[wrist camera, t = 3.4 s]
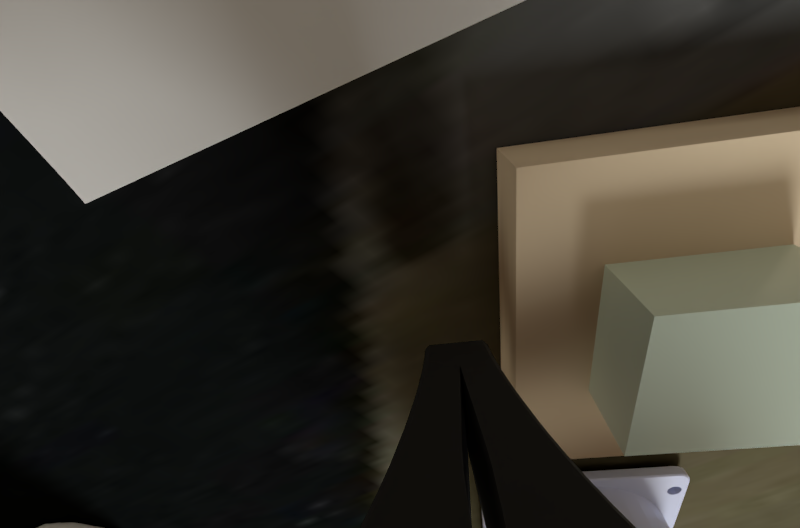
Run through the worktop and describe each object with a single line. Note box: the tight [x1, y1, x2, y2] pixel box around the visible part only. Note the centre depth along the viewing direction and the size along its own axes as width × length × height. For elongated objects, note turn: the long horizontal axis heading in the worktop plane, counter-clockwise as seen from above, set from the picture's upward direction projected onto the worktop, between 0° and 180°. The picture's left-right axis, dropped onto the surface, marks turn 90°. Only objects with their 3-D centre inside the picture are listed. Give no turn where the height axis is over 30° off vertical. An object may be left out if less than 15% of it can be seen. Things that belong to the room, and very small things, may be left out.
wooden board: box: [497, 107, 800, 459], centre depth 10 cm, size 10×13×2 cm
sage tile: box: [589, 244, 800, 456], centre depth 9 cm, size 4×4×2 cm
